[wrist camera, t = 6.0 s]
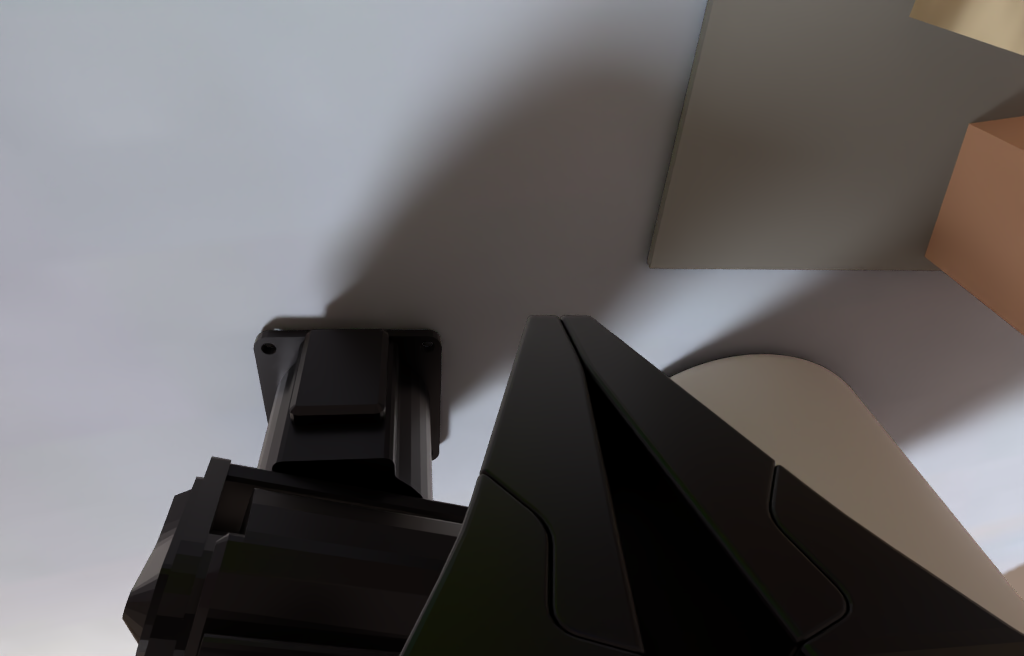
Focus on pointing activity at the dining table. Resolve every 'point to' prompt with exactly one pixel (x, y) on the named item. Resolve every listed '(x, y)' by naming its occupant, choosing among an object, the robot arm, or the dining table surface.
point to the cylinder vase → (849, 464)
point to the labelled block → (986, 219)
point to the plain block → (977, 20)
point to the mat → (823, 135)
